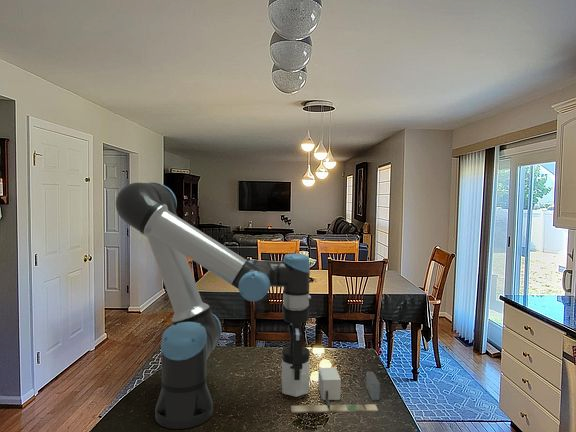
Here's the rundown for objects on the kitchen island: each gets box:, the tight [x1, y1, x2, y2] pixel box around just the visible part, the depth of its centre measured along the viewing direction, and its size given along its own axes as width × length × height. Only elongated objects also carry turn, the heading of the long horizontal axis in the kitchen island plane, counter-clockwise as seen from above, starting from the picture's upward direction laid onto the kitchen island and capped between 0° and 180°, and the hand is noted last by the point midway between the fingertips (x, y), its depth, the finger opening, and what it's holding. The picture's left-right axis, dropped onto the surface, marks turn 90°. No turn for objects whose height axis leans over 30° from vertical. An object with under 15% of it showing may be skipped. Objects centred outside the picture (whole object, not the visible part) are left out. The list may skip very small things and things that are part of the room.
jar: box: [281, 345, 311, 398], centre depth 124 cm, size 9×8×12 cm
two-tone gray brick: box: [365, 371, 381, 401], centre depth 125 cm, size 2×8×5 cm, turn 3°
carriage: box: [317, 367, 342, 407], centre depth 122 cm, size 5×13×6 cm, turn 3°
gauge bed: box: [290, 403, 379, 414], centre depth 116 cm, size 24×3×1 cm, turn 93°
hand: (295, 381), depth 124 cm, fingers closed on jar, 9 cm apart
